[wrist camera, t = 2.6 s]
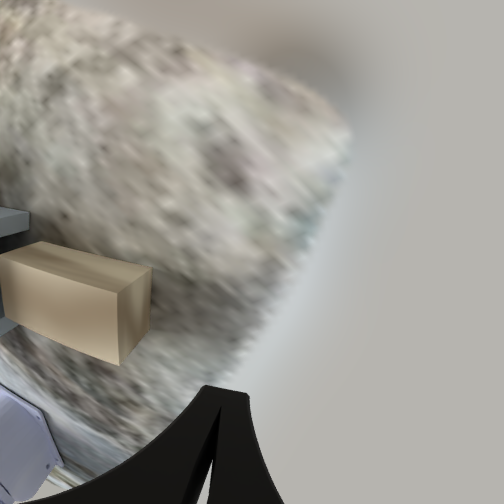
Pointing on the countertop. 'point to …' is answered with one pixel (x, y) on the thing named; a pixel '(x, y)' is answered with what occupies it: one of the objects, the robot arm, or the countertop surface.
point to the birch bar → (77, 298)
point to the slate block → (5, 224)
